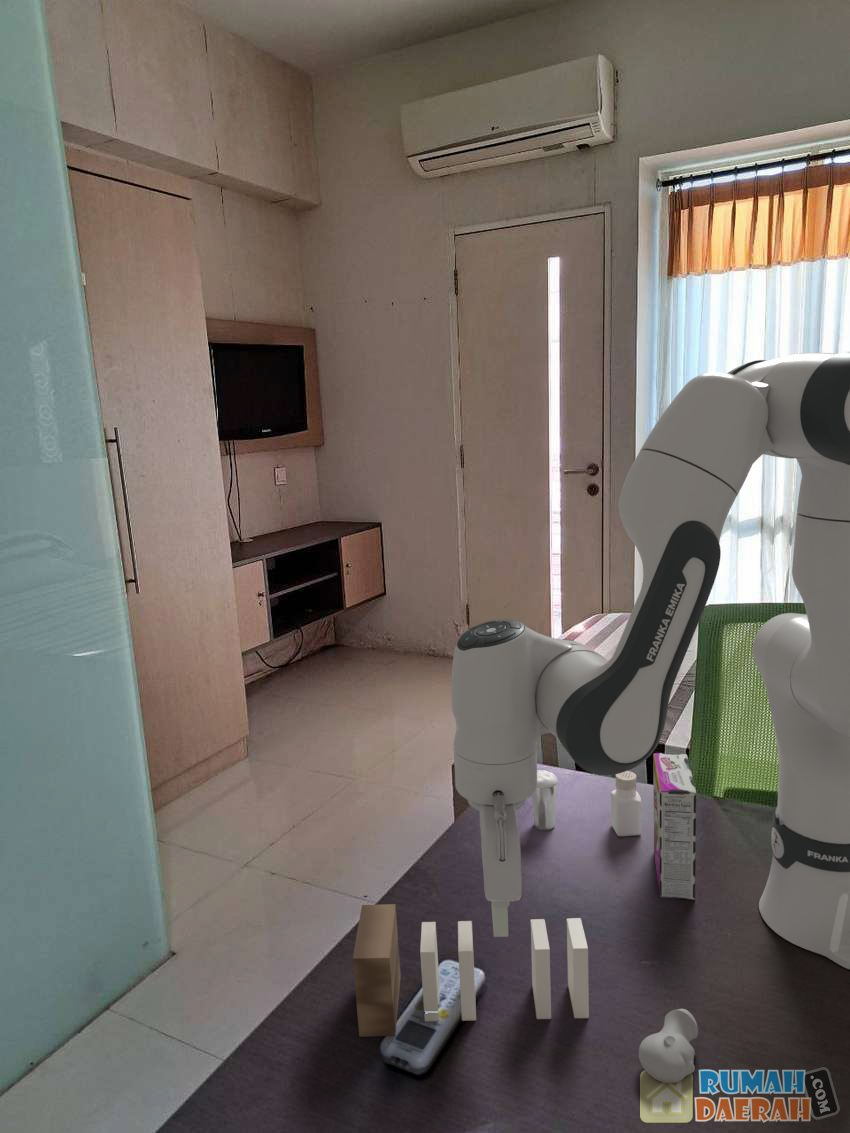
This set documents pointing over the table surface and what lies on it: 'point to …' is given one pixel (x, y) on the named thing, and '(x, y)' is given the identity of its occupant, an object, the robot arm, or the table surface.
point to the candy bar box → (674, 825)
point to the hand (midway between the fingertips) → (499, 885)
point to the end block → (377, 970)
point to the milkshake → (545, 800)
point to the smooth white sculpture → (670, 1048)
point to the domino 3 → (500, 921)
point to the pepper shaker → (626, 805)
